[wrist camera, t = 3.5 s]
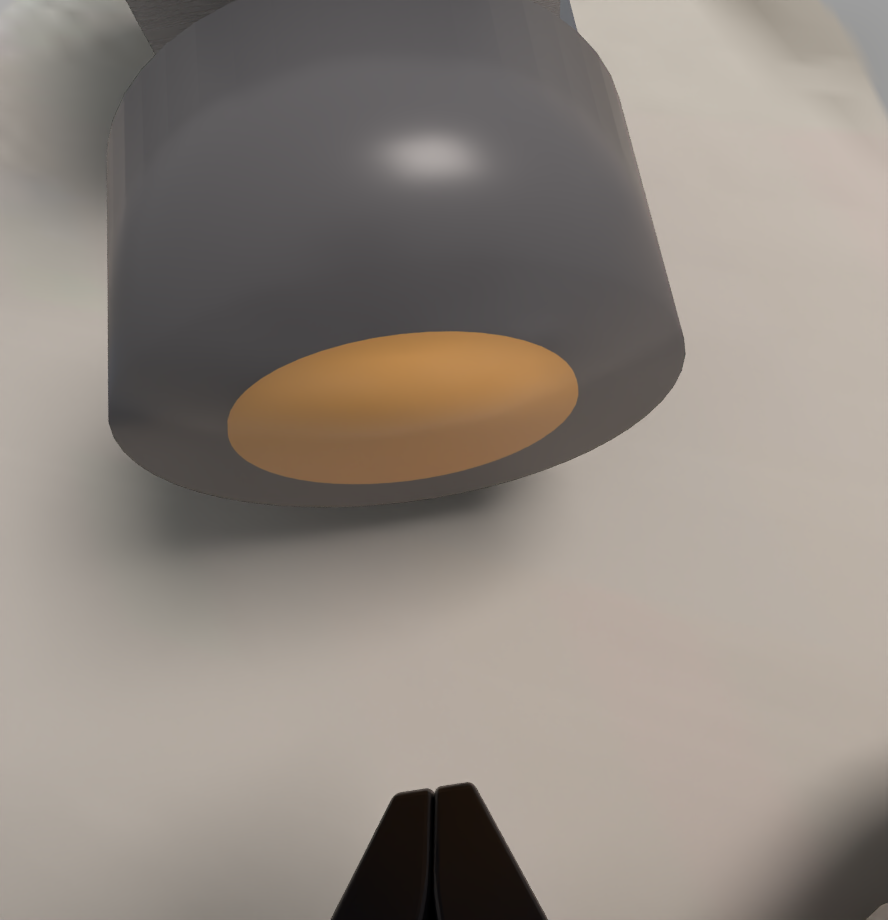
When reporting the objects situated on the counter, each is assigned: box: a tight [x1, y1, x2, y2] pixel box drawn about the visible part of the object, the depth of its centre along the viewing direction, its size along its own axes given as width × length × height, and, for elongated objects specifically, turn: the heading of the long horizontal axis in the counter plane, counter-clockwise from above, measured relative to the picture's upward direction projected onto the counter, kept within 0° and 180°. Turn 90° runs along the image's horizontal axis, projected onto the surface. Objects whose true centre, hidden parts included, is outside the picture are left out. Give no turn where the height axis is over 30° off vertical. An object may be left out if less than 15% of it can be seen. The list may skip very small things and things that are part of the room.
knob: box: [107, 0, 685, 507], centre depth 15 cm, size 13×8×8 cm, turn 8°
